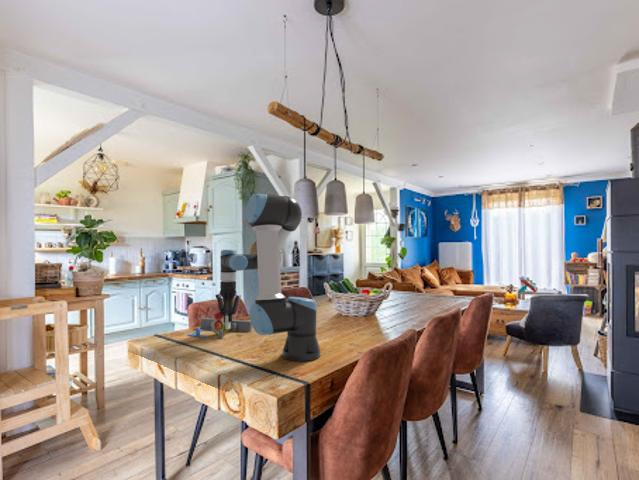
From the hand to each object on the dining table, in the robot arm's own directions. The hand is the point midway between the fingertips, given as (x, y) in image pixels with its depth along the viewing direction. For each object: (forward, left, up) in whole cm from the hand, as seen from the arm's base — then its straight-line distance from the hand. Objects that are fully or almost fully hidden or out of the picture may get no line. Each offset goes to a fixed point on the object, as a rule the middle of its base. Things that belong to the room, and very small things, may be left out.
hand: (227, 328), depth 173 cm
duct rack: (+1, +6, -3) cm, 7 cm away
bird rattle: (0, +4, -3) cm, 5 cm away
